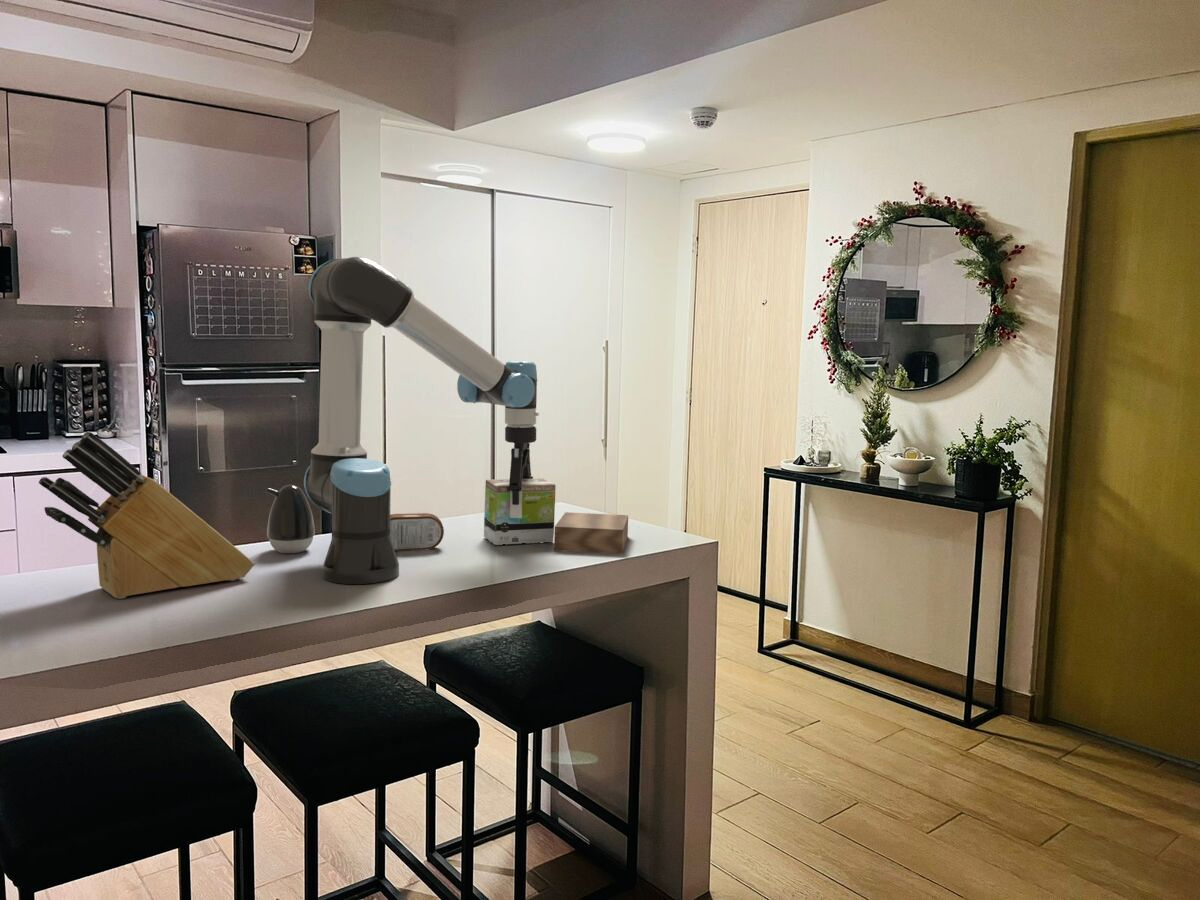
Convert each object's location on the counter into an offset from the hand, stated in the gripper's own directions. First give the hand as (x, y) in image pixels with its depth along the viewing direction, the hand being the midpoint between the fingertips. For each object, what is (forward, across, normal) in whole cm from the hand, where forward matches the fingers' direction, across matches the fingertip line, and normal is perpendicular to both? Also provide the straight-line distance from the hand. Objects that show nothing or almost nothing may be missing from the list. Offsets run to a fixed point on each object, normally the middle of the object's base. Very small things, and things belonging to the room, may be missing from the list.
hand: (520, 512), depth 226 cm
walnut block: (+8, 0, -18) cm, 19 cm away
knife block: (+6, -53, +63) cm, 83 cm away
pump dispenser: (+7, -20, +49) cm, 54 cm away
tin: (+7, -14, +23) cm, 28 cm away
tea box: (+7, 0, 0) cm, 7 cm away
